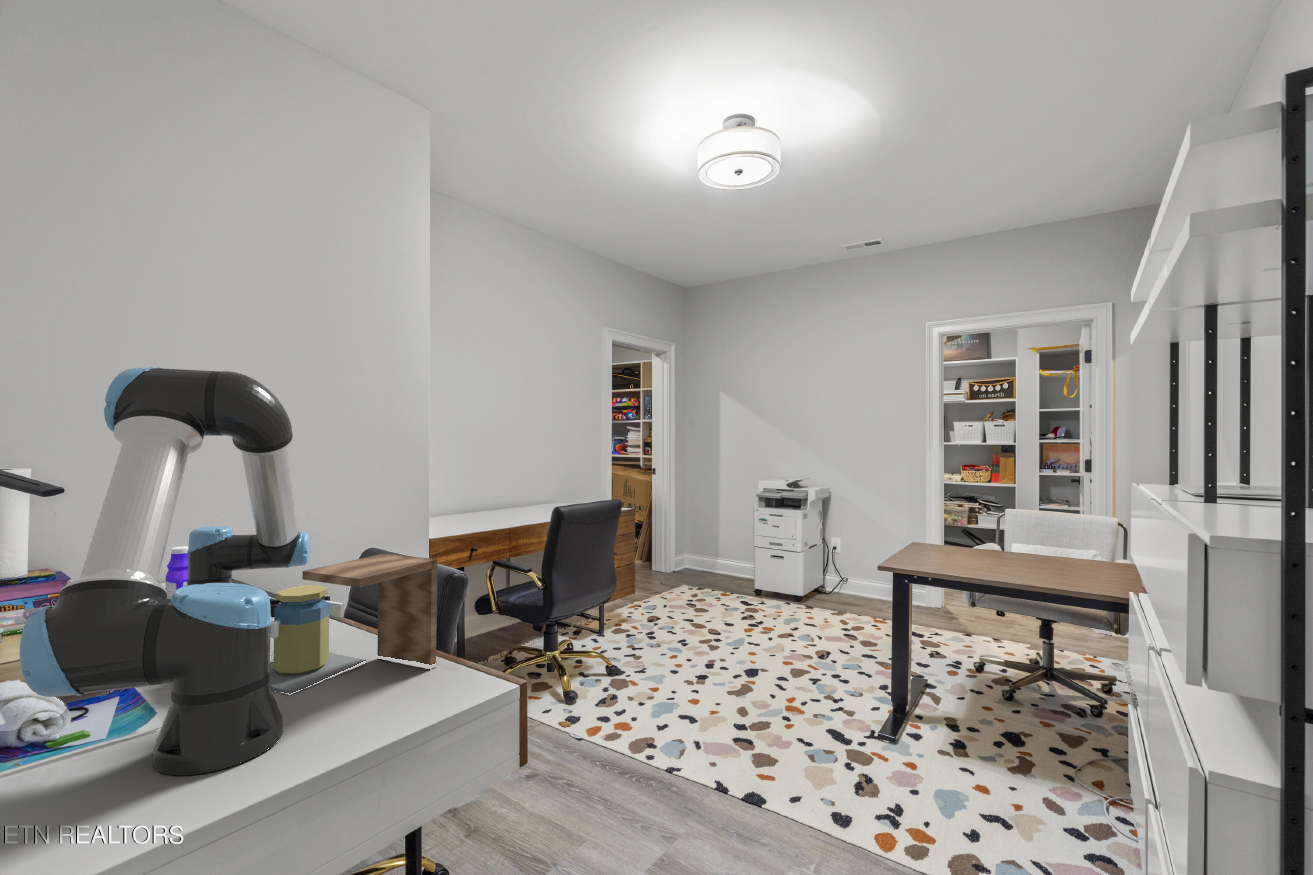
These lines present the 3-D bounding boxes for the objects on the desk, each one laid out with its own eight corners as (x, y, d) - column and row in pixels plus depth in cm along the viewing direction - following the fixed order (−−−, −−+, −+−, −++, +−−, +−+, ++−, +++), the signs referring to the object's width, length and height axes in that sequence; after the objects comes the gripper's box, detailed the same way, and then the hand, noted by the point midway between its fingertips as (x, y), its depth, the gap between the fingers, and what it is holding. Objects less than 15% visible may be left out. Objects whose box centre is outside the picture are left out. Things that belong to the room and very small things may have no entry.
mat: (366, 663, 117) (366, 659, 117) (289, 695, 103) (289, 691, 103) (310, 652, 123) (310, 648, 123) (230, 680, 109) (230, 676, 109)
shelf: (435, 667, 116) (437, 559, 116) (357, 705, 99) (359, 578, 99) (383, 656, 121) (384, 553, 122) (300, 691, 104) (302, 571, 105)
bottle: (200, 615, 148) (201, 547, 148) (172, 621, 143) (173, 550, 143) (188, 611, 152) (189, 544, 152) (160, 616, 147) (161, 547, 147)
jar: (298, 680, 107) (299, 598, 107) (261, 673, 110) (262, 593, 110) (339, 662, 116) (340, 586, 116) (304, 656, 119) (305, 582, 119)
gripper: (296, 609, 132) (365, 621, 124) (169, 643, 109) (243, 661, 101) (296, 575, 132) (365, 585, 124) (169, 603, 109) (244, 617, 101)
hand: (311, 619), depth 112 cm, fingers open, 13 cm apart
